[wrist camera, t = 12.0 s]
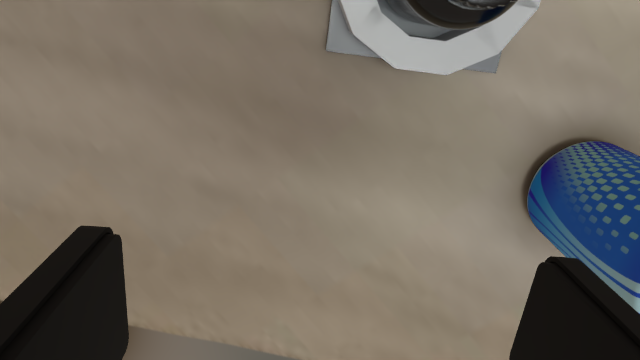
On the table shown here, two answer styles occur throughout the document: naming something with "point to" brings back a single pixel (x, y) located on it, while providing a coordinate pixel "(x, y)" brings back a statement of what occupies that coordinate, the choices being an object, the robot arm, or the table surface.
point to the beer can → (593, 211)
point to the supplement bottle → (451, 12)
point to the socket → (421, 37)
